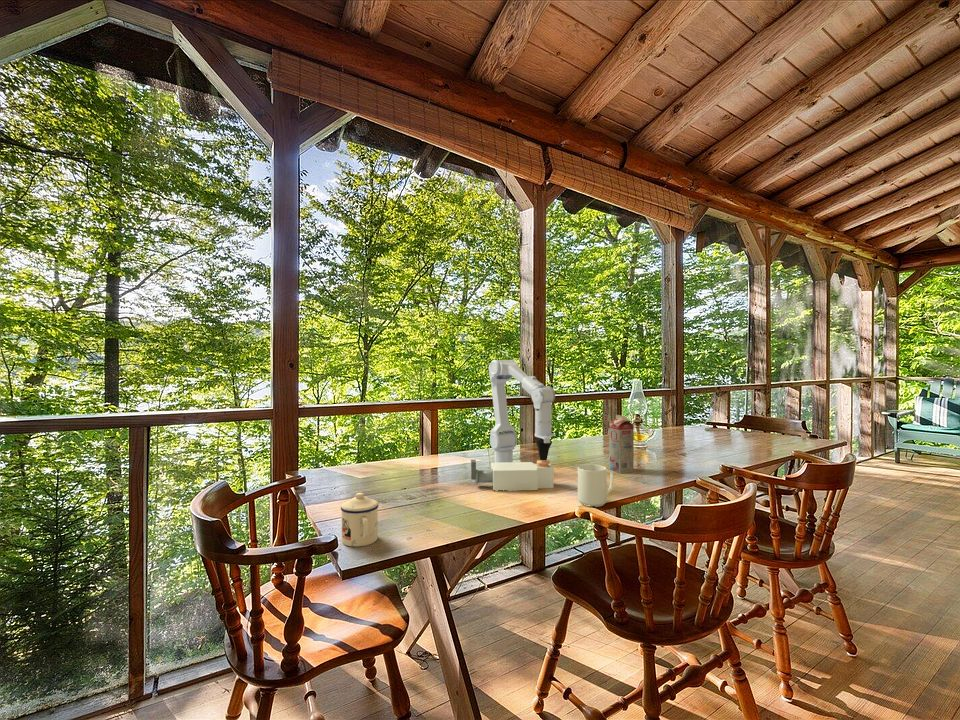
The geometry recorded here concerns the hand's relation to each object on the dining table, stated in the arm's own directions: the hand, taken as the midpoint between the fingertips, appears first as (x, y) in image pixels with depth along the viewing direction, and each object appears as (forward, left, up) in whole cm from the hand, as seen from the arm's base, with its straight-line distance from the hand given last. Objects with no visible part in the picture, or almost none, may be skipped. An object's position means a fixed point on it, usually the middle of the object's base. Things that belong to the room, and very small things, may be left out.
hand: (543, 460), depth 167 cm
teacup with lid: (+48, -54, -9) cm, 73 cm away
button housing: (0, -8, -9) cm, 12 cm away
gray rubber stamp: (0, -19, -8) cm, 21 cm away
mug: (+20, +13, -9) cm, 26 cm away
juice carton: (-20, +35, -9) cm, 41 cm away
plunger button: (0, 0, -4) cm, 4 cm away
